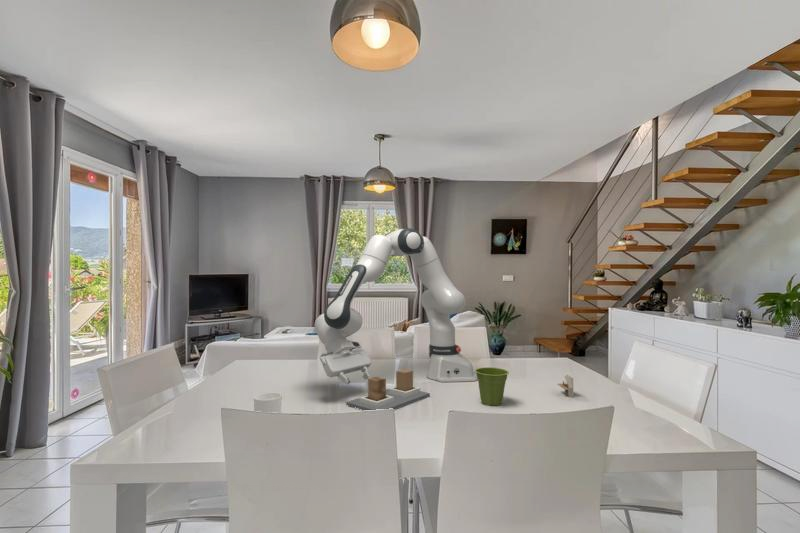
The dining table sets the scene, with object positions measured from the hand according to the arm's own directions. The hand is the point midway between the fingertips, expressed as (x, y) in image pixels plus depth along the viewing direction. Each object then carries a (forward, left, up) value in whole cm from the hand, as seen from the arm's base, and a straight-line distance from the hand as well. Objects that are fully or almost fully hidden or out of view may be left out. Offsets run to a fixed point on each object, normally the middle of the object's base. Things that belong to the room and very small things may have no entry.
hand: (357, 380), depth 152 cm
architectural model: (-77, -14, -8) cm, 79 cm away
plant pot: (-48, -2, -7) cm, 48 cm away
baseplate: (-12, 0, -7) cm, 13 cm away
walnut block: (-8, +5, -6) cm, 11 cm away
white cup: (+20, +31, -7) cm, 38 cm away
